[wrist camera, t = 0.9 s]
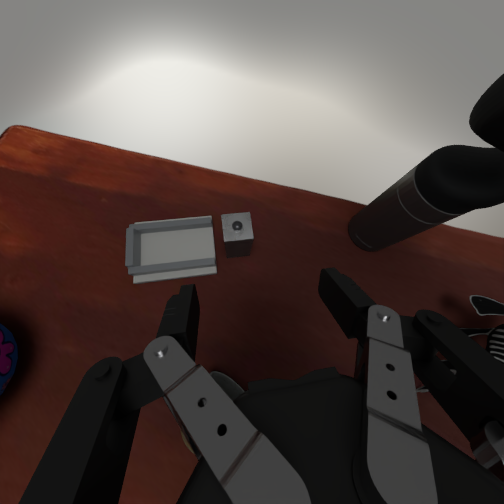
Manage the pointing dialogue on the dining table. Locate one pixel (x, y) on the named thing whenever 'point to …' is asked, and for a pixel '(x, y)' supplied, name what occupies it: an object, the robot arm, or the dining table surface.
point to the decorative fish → (484, 331)
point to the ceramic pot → (7, 357)
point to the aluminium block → (237, 234)
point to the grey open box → (170, 249)
